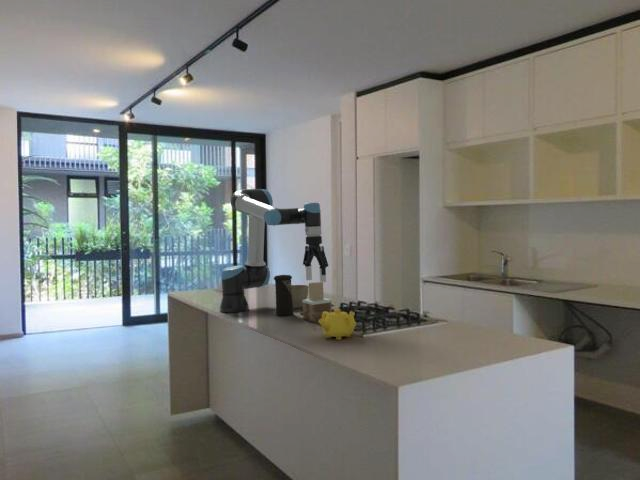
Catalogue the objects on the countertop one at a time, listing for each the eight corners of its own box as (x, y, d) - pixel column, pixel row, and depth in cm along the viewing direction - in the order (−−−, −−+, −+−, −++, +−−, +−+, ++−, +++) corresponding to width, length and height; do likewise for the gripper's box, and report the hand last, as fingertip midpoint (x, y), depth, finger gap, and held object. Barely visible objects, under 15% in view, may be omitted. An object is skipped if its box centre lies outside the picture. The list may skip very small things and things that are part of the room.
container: (293, 316, 260) (291, 275, 259) (274, 316, 260) (272, 276, 259) (294, 312, 269) (292, 273, 268) (276, 313, 269) (274, 274, 268)
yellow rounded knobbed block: (339, 329, 225) (338, 303, 225) (371, 334, 213) (370, 307, 212) (304, 338, 211) (303, 311, 211) (337, 345, 199) (336, 315, 198)
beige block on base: (302, 302, 251) (301, 282, 251) (320, 299, 256) (319, 280, 256) (312, 304, 242) (311, 284, 242) (331, 302, 247) (330, 282, 247)
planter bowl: (296, 303, 297) (295, 284, 297) (315, 306, 286) (314, 285, 285) (273, 307, 287) (272, 287, 286) (292, 310, 275) (291, 289, 274)
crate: (303, 319, 251) (302, 302, 251) (321, 316, 256) (320, 299, 256) (313, 322, 243) (312, 304, 242) (332, 319, 248) (331, 302, 247)
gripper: (294, 236, 257) (296, 279, 257) (319, 236, 235) (322, 284, 236) (308, 235, 260) (310, 278, 261) (334, 235, 239) (336, 282, 239)
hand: (316, 281), depth 248 cm, fingers open, 13 cm apart
